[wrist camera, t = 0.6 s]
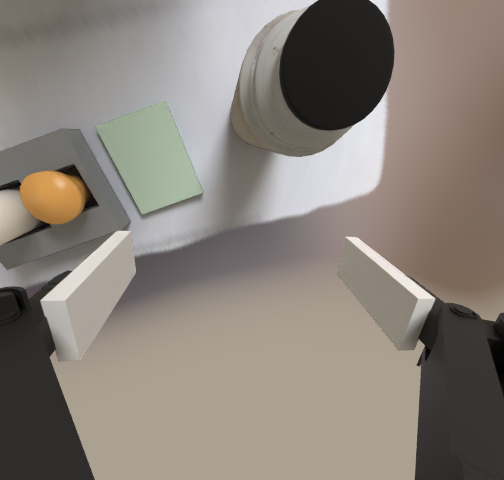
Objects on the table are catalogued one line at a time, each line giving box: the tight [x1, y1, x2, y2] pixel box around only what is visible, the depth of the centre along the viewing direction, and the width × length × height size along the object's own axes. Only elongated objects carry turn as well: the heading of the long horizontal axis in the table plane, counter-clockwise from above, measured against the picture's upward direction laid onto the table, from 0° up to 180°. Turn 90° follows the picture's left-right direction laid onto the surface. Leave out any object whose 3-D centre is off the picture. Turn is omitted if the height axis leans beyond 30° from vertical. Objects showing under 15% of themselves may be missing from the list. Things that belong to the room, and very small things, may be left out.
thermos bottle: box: [230, 0, 394, 157], centre depth 23 cm, size 8×8×28 cm
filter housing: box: [0, 129, 130, 270], centre depth 36 cm, size 14×18×4 cm
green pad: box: [95, 101, 203, 214], centre depth 37 cm, size 13×10×1 cm
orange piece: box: [20, 170, 91, 224], centre depth 33 cm, size 6×6×5 cm
